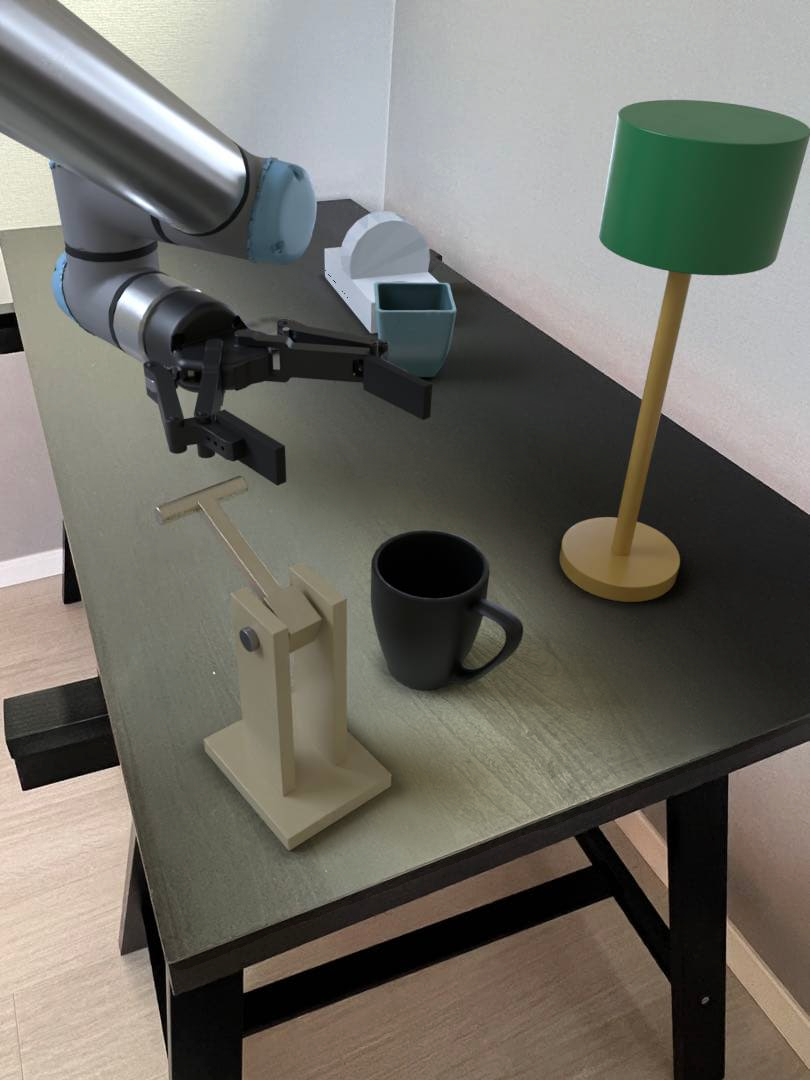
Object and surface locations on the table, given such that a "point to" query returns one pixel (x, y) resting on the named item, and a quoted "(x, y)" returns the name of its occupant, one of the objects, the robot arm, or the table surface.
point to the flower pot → (415, 324)
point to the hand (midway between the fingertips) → (359, 432)
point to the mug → (434, 608)
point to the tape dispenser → (376, 261)
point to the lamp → (680, 279)
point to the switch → (246, 558)
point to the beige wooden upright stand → (295, 719)
